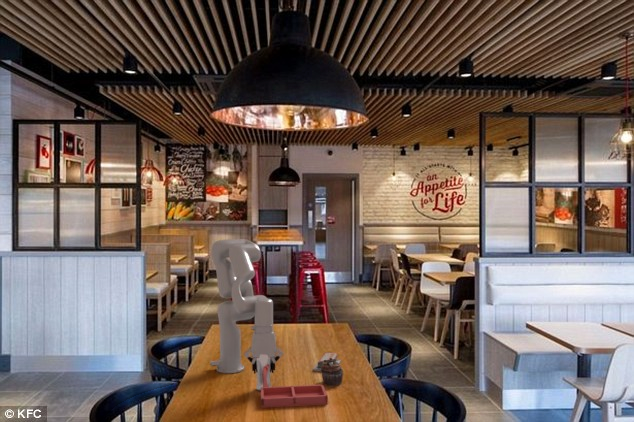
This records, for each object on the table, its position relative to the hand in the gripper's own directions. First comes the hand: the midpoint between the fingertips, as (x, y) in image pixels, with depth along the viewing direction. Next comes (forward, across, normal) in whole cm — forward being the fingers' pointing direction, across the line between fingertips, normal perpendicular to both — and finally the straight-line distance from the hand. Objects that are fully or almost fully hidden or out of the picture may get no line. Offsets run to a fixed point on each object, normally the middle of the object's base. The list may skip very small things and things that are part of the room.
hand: (263, 371), depth 215 cm
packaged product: (+8, +30, +28) cm, 42 cm away
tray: (+7, +11, -14) cm, 19 cm away
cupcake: (+7, +29, +4) cm, 31 cm away
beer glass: (+7, 0, 0) cm, 7 cm away
